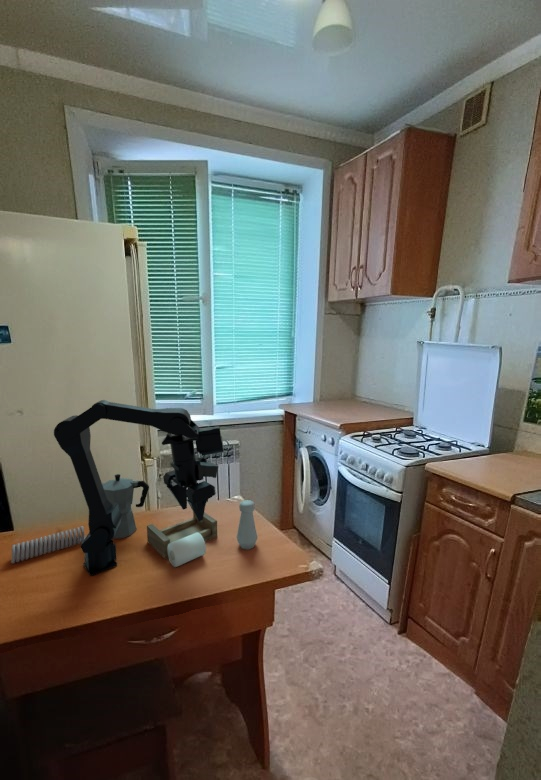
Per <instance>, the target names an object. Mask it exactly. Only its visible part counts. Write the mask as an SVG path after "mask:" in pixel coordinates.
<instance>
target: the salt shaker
mask: <svg viewBox="0 0 541 780" xmlns="http://www.w3.org/2000/svg"><path fill="white" fill-rule="evenodd" d="M238 507H239V511H240V518H239V523H238V527H237V528H238V529H237V534H236V540H237V543H238V546H240V548H241V549H242V550H251V549H253V548H254V547H255V545H256V543H257V540H258V534H257V528H256V524H255V523H256V522H255V516H254V511H255V509H256V508H255V507H256V506H255V502H254V501H252V500H250V499H249V500H248V499H246V500H245V499H244V500H242V501H241V502H240V503H239V506H238Z"/></svg>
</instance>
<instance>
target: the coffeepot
mask: <svg viewBox="0 0 541 780" xmlns="http://www.w3.org/2000/svg"><path fill="white" fill-rule="evenodd" d="M101 483H102V482H101ZM102 485H103V488H104V491H105V494H106V497H107V500H108V501H109V502H110V503H111V504H112V505H113V504H115V503H118V505H119V511H120V513H121V514H122V515H123V516H122V518H121V523H120V525H119V527H118V529H117V531H116V533H115V535H114V537H113V538H112V540H117V539H124V538H127V537H130V536H131V535H132V534H134V533H135V532H136V530H137V525H136V521H135V517H134V513H133V510H132V509H133V508H132V505H133V501H134V500H133V498H134V491H135V489H138V488H142V491H141V496H140V498H139V503H138V504H137V503H135V508H143V506H144V504H145V501H146V497H147V496H148V492H149V489H150V486H149V484H148V483H146V482H145V481H144V480H133V479H131V478H124V477H121V474H119V473H117V474H114V479H111V480H108V481H106V482H103V483H102Z"/></svg>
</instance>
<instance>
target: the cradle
mask: <svg viewBox="0 0 541 780" xmlns="http://www.w3.org/2000/svg"><path fill="white" fill-rule="evenodd" d="M192 513H193V517H191V518H188V519H187V520H184V521H181V522H179V523H176V524H172V525H170V526H168V527H167V526H166V527H165V528H162V529H159V528H158V527H157V526H155V525H154V524H153V523H149V524H148V525H146V536H147V537H146V540H147V543H148V544H149V545H150V546H151V547H152V548H153V549H154V550H155V551H157V553H158V554H159V555H160V556H161V557H162V558H163V559H165V560H167V559H169V557H168V552H167V547H168V544H169V543H172V542H174V541H177V540H179V539H182V538H184V537H187V536H189V535H192V534H194V533H197V532H198V533H200V534H201V535H202V537H203V539H204V541H205V543H207V542H208V541H211V540H213V539H215V538H217V537H218V520H217V519H215V518H214V517H212V516H211V515H209V514H208V513H206V512H205V511H204V516H203V520H201V521H198V519H197V518H196V516H195V514H194V512H193V511H192Z"/></svg>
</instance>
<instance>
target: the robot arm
mask: <svg viewBox="0 0 541 780" xmlns="http://www.w3.org/2000/svg"><path fill="white" fill-rule="evenodd" d="M103 419H104V420H110V421H117V422H124V423H130V424H136V425H142V426H149V427H153V428H156V429H158V430H159V431H162V432H163V433H166V435H165V437H164V438H163V439H162V441H161V445H162V446H166V445H170V452H171V458H172V462H170V467H171V468H173V470H170V471H166V472H165V473H164V475H163V477H162V478H163V479H162V480H163V484H165V485H166V488H167V489H168V490H169V491H170V493H171V494H172V495H173V497H174V498H175V500H176V502H177V503H178V505H179V506H180V507H181V509H182V510H183V511H184V510H186V509H187V508H188V505H189V507H190V508H191V511H192V513H193V512H194V514H195V516H196V518H197V519H198V521H201V520H203V516H204V512H205V510H206V506H207V505H206V504H207V502H208V500H209V499H211V498H212V497H214V496H215V495H216V494H217V493H216V487H215V485H213V484H211V483H209V482H207V481H205V480H204V477H206V478H213V479H216V478H217V476H218V471H219V465H218V464H215V463H213V462H211V461H208V460H207V458H206V457H203V456H209V455H210V456H211V455H216V454H222V453H225V450H224V443H223V436H222V435H221V434H222V433H221V426H218V425H217V426H214V427H209V428H204V429H203V428H202V429H200V426H198V425H197V424H196V423H195V421H193V420H192V418H191V414H190V413H189V411H188V410H187V409H185V408H182V407H174V408H173V407H169V408H168V407H167V408H149V407H144V406H137V405H130V404H125V403H117V402H112V401H108V400H105V399H103V400H98V401H97V402H95V403H94V404H92V405H91V407H89V408H88V409H86V410H84V411H83V412H82V413H80V414H79V415H76V414H75V415H71V416H70V417H68V418H65V419H64V420H62V421H60V422H58V423H57V424H56V426H55V427H54V429H53V436H54V438H55V441H57V444H58V445H59V448H61V450H62V451H63V452H64V453H65V454H67V456H68V457H69V458H70V460H71V463H72V465H73V468H74V471H75V475H76V477H77V480H78V483H79V486H80V488H81V492H82V494H83V497H84V499H85V503H86V506H87V508H88V524H87V525H88V531H89V532H88V533H87V535H85V539H84V541H83V543H80V549H81V551H82V553H83V554H84V561H83V567H84V568H85V570H86V572H87V573H88V575H89V576H91V577H92V576H94V575H97V574H100V573H102V572H105V571H107V570H109V569H112V568H115V567H117V566H118V562H117V561H116V560H117V546H116V544H115V543H114V539H112V538H113V537H114V535H115V533H116V531H117V529H118V527H119V525H120V523H121V518H122V516H123V515H122V514H121V513H120V511H119V505H118V503H115V504H113V505H112V504H111V503H110V502H109V501H108V500H107V497H106V494H105V491H104V488H103V485H102V480H101V478H100V477H101V476H100V474H99V471H98V468H97V465H96V462H95V460H94V456H93V453H92V451H91V430H90V427H91V426H93V425H94V424H97V423H98V421H100V420H103ZM194 441H195V444H194ZM195 448H196V452H195ZM196 453H199V454H198V455H201V456H199V457H196ZM202 480H203V481H202ZM198 481H201V482H198Z"/></svg>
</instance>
